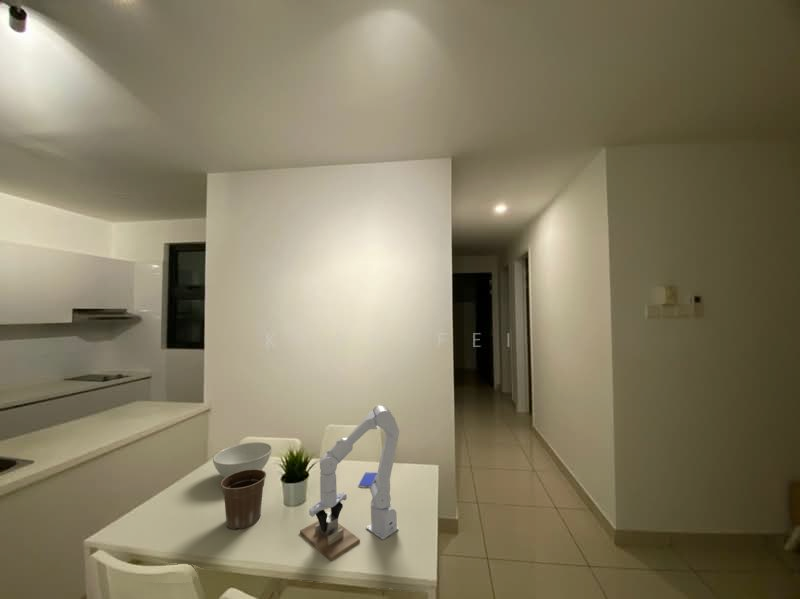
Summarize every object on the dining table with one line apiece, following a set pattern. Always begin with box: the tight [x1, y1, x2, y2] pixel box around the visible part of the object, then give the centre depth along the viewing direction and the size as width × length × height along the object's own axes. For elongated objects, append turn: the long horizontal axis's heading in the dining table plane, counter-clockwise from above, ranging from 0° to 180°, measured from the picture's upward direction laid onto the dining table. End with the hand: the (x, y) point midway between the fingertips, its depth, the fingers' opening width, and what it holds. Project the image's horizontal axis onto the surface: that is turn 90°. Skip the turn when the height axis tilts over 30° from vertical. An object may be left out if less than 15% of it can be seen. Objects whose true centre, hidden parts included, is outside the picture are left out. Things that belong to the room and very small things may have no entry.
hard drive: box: [357, 471, 377, 489], centre depth 157 cm, size 2×8×12 cm
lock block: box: [319, 511, 339, 540], centre depth 118 cm, size 6×4×6 cm, turn 45°
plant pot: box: [220, 469, 267, 530], centre depth 129 cm, size 16×16×16 cm
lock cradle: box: [299, 520, 361, 561], centre depth 117 cm, size 20×12×4 cm, turn 45°
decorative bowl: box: [212, 441, 273, 479], centre depth 164 cm, size 27×27×12 cm
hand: (328, 527), depth 117 cm, fingers closed on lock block, 4 cm apart
